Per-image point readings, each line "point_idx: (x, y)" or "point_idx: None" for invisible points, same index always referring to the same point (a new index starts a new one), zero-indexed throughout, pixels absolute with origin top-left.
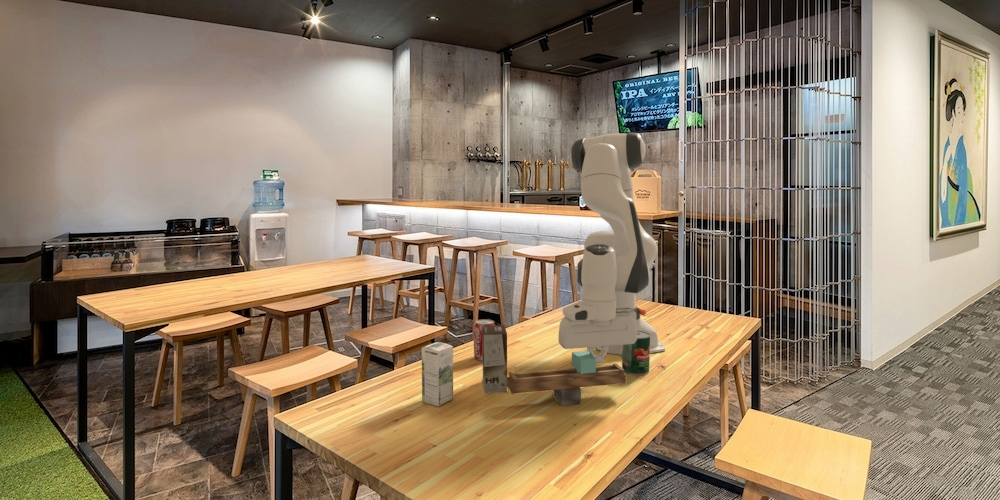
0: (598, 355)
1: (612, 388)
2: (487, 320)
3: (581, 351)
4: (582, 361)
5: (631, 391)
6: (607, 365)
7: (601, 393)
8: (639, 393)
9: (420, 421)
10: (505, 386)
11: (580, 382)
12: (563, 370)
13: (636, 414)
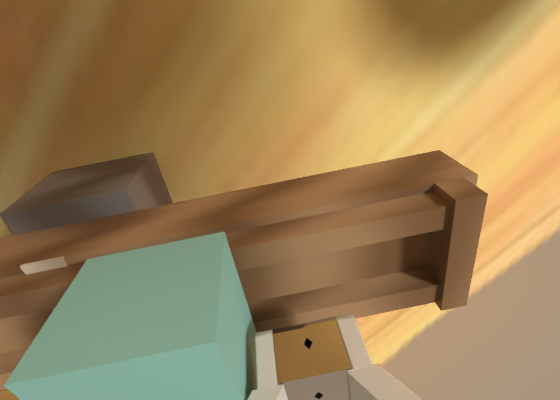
0: (329, 388)
1: (388, 84)
2: None
3: (141, 364)
4: None
5: (460, 130)
6: (400, 221)
7: (309, 149)
8: (480, 154)
9: None
10: None
11: None
12: (32, 311)
13: (369, 315)
